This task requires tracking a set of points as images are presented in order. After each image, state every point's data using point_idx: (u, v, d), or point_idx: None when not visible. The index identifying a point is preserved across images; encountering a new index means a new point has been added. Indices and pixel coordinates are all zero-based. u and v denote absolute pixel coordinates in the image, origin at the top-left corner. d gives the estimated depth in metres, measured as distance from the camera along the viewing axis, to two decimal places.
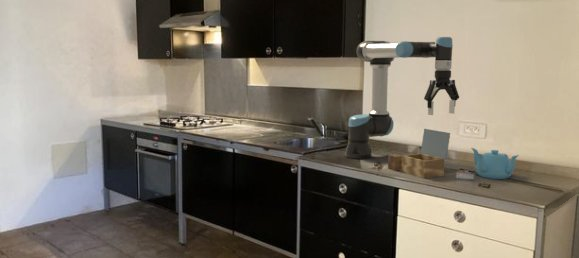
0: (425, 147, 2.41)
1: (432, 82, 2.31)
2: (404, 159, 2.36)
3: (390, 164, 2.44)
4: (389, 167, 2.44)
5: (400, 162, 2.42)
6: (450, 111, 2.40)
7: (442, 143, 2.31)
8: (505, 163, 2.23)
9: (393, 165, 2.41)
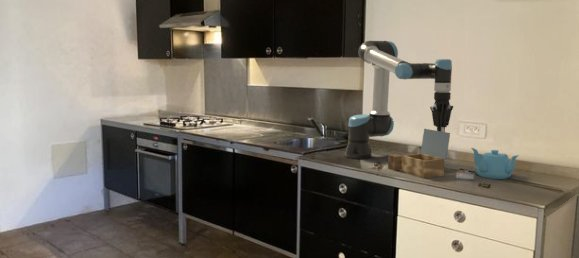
0: (425, 147, 2.41)
1: (433, 109, 2.32)
2: (404, 159, 2.36)
3: (390, 164, 2.44)
4: (389, 167, 2.44)
5: (400, 162, 2.42)
6: None
7: (442, 143, 2.31)
8: (505, 163, 2.23)
9: (393, 165, 2.41)
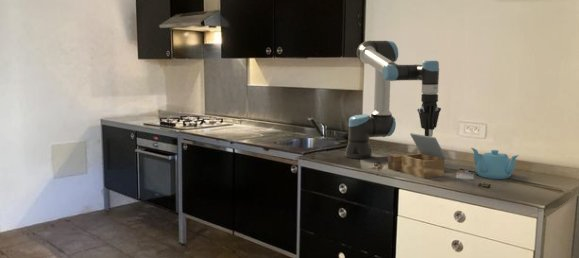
0: (421, 148, 2.40)
1: (420, 111, 2.28)
2: (404, 159, 2.36)
3: (390, 164, 2.44)
4: (389, 167, 2.44)
5: (400, 162, 2.42)
6: None
7: (434, 146, 2.29)
8: (505, 163, 2.23)
9: (393, 165, 2.41)
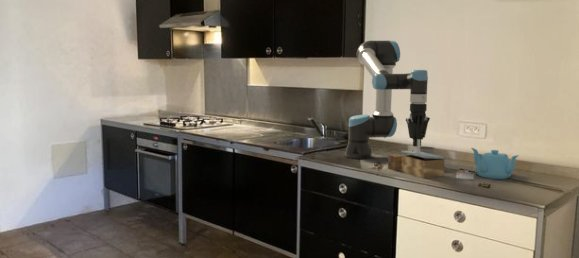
0: (419, 153, 2.39)
1: (408, 121, 2.26)
2: (404, 159, 2.36)
3: (390, 164, 2.44)
4: (389, 167, 2.44)
5: (400, 162, 2.42)
6: None
7: None
8: (505, 163, 2.23)
9: (393, 165, 2.41)
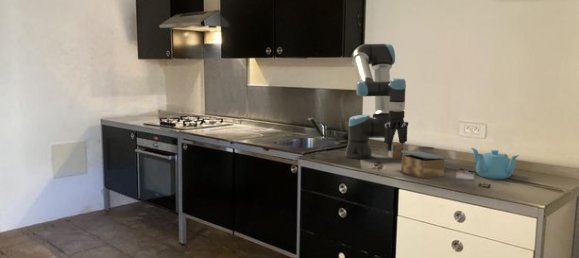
0: (419, 153, 2.39)
1: (386, 126, 2.38)
2: (404, 159, 2.36)
3: None
4: None
5: (400, 150, 2.42)
6: None
7: None
8: (505, 163, 2.23)
9: (393, 153, 2.41)
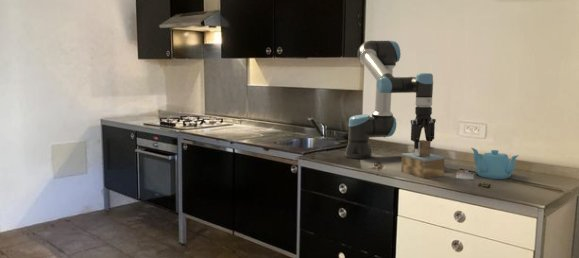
0: None
1: (413, 122, 2.27)
2: (404, 159, 2.36)
3: None
4: None
5: (428, 148, 2.30)
6: None
7: None
8: (505, 163, 2.23)
9: (420, 151, 2.29)
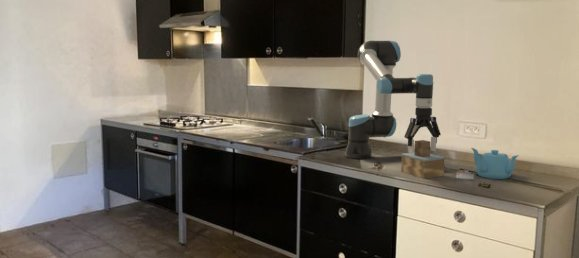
0: None
1: (412, 120, 2.27)
2: (404, 159, 2.36)
3: (416, 150, 2.32)
4: (416, 153, 2.32)
5: (428, 148, 2.30)
6: (431, 148, 2.36)
7: None
8: (505, 163, 2.23)
9: (420, 151, 2.29)
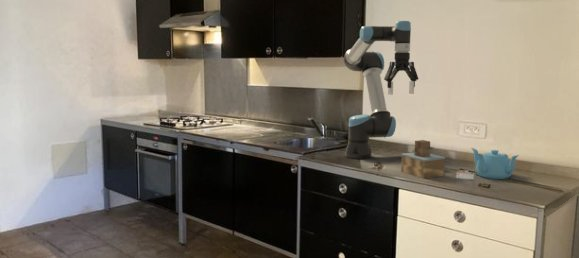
0: None
1: (391, 63, 2.45)
2: (404, 159, 2.36)
3: (416, 150, 2.32)
4: (416, 153, 2.32)
5: (428, 148, 2.30)
6: (410, 92, 2.54)
7: None
8: (505, 163, 2.23)
9: (420, 151, 2.29)
